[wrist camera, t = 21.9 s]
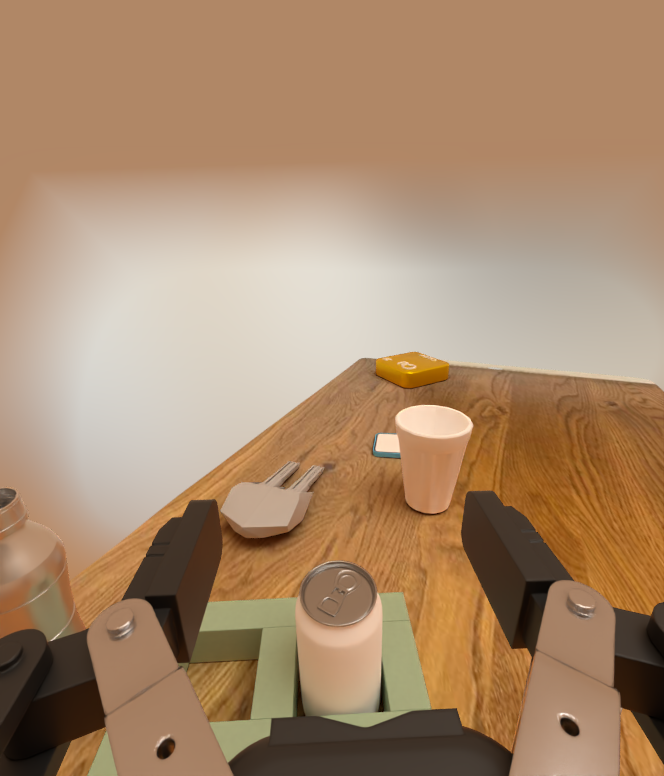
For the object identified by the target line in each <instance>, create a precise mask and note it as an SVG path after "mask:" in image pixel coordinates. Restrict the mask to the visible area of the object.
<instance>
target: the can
mask: <svg viewBox="0 0 664 776" xmlns="http://www.w3.org/2000/svg"><path fill="white" fill-rule="evenodd" d="M295 620H296V634H297V647H298V660H299V672H300V684H301V695H302V704H303V709H304V713H305V716H325V715H341V714H358V713H375V712H378V710H379V705H380V691H381V660H382V603H381V599H380V596H379V594H378V592H377V587H376V584H375V581H374V579H373V578H372V576H371V575H370V574H369V573H368V572H367V571H366V570H365V569H364V568H362V567H361V566H359V565H357V564H355V563H352V562H348V561H329V562H326V563H323V564H320V565H318V566H316V567H315V568H313V569H312V570H311V571H310V572H309V573H308V574H307V575H306V576H305V578H304V579H303V581H302V583H301V586H300V592H299V595H298V598H297V601H296V607H295Z"/></svg>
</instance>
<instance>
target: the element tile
mask: <svg viewBox="0 0 664 776" xmlns="http://www.w3.org/2000/svg"><path fill="white" fill-rule="evenodd" d="M448 373H449V363H447V362H444V361H441V360H438V359H436V358H432V357H430V356H427V355H424V354H421V353H418V352H410V353H405V354H399V355H394V356H389V357H384V358H379V359H377V360H376V374H377V375H378V376H380V377H382V378H384V379H386V380H388V381H390V382H392V383H394V384H396V385H399V386H401V387H403V388H415V387H419V386H423V385H428V384H432V383H436V382H440V381H444V380H447V379H448Z"/></svg>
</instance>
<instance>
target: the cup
mask: <svg viewBox="0 0 664 776" xmlns="http://www.w3.org/2000/svg"><path fill="white" fill-rule="evenodd" d="M395 418H396V432H397V436H398V439H399V447H400V456H401V464H402V473H403V482H404V490H405V499H406V502H407V503H408V505H409V506H410V507H412V508H413V509H415V510H417V511H420V512H423V513H432V514H434V513H439V512H443V511H444V510H446V509H447V508H448V506H449V504H450V501H451V498H452V494H453V491H454V488H455V484H456V481H457V477H458V474H459V470H460V467H461V463H462V460H463V456H464V453H465V449H466V446H467V442H468V441H469V439H470V436H471V432H472V428H473V424H472V422H471V420H470V418H469V417H467V416H466V415H465V414H463V413H462V412H459V411H457V410H454V409H451V408H448V407H442V406H436V405H420V406H413V407H409V408H406V409H404V410H401V411H400V412H399V413H398V414H397V415H396V416H395Z"/></svg>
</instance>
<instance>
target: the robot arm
mask: <svg viewBox="0 0 664 776" xmlns="http://www.w3.org/2000/svg"><path fill="white" fill-rule="evenodd" d="M461 536H462V543H463V547H464V550H465V552H466V554H467V556H468V558H469V560H470V562H471V564H472V567H473V569H474V571H475V573H476V575H477V577H478V579H479V581H480V583H481V585H482V588H483V590H484V592H485V594H486V596H487V598H488V600H489V602H490V604H491V606H492V608H493V611H494V613H495V615H496V617H497V619H498V621H499V623H500V625H501V627H502V629H503V632H504V634H505V636H506V638H507V640H508V642H509V644H510V646H511V648H512V649H518V648H527V649H528V651H529V652H530V654H531V656H532V659H531V663H530V668H529V672H528V677H527V681H526V686H525V690H524V695H523V699H522V703H521V708H520V712H519V717H518V721H517V726H516V730H515V735H514V739H513V743H512V747H511V751H508V750H507V749H506V748H505V747H504V746H502V745H501V744H499V743H498V742H496V741H495V740H493V739H492V738H490V737H488V736H486V735H484V734H482V733H480V732H478V731H475V730H473V729H470V728H467V727H464V726H462V724H461V721H460V718H459V714H458V711H457V708H455V709H436V710H417V711H410V712H407V713H405V714H402V715H399V716H397V717H394V718H391V719H389V720H386V721H383V722H381V723H378V724H376V725H373V726H370V727H360V726H356V725H352V724H348V723H344V722H340V721H336V720H332V719H328V718H324V717H321V716H303V717H284V718H271V728H270V736H267V737H265V738H262V739H260V740H258V741H256V742H255V743H253V744H251V745H249V746H248V747H246V748H245V749H244V750H242V751H241V752H239V753H238V754H237V755H236V756H235V757H234V758H233V759H231V760H230V761H229V762H227V760H226V758H225V756H224V754H223V752H222V749H221V747H220V745H219V743H218V741H217V739H216V736H215V734H214V732H213V730H212V728H211V725H210V723H209V721H208V719H207V717H206V715H205V712H204V710H203V708H202V706H201V704H200V702H199V699H198V697H197V695H196V693H195V691H194V689H193V686H192V684H191V682H190V680H189V678H188V676H187V673H186V671H185V670H184V668H183V667H182V666H180V667H179V665H178V663H190V661H191V658H192V654H193V651H194V648H195V644H196V641H197V637H198V634H199V631H200V627H201V624H202V620H203V617H204V614H205V610H206V607H207V604H208V600H209V597H210V593H211V590H212V587H213V583H214V580H215V577H216V573H217V570H218V566H219V563H220V560H221V555H222V533H221V526H220V519H219V512H218V505H217V502H216V500H191V501H190V502H189V504H188V506H187V508H186V510H185V512H184V514H183V516H182V517H177V518H172V519H170V520H169V521H168V522H167V523H166V524H165V525H164V526H163V527H162V528H161V529H160V530H159V531H158V533H157V535H156V537H155V539H154V541H153V542H152V546H150V548H149V550H148V552H147V554H146V557H144V559H143V561H142V563H141V565H140V567H139V569H138V570H137V572H136V574H135V576H134V578H133V580H132V582H131V584H130V585H129V587H128V589H127V591H126V593H125V595H124V597H123V598H122V600H121V601H120V602H118V603H115V604H113V605H112V606H110V607H108V608H107V609H106V610H104V611H103V612H102V613H101V614H100V615H99V616H98V617H97V618H96V619H95V620H94V621H93V623H92V624H91V626H90V628H88V629H86V630H83V631H81V632H78V633H74V634H71V635H68V636H65V637H62V638H59V639H55V640H52V641H49V642H48V641H47V639H46V636H45V635H44V633H43V632H41V631H39V630H36V629H25V630H20V631H16V632H14V633H11V634H9V635H7V636H4V637H2V638H1V639H0V776H56V775H57V772H58V770H59V768H60V765H61V763H62V761H63V758H64V756H65V754H66V752H67V749H68V747H69V745H70V742H71V741H72V740H74V739H77V738H79V737H82V736H84V735H87V734H89V733H92V732H94V731H97V730H99V729H102V728H104V727H106V730H107V734H108V738H109V742H110V746H111V750H112V755H113V759H114V763H115V767H116V771H117V775H118V776H620V707H621V708H624V709H627V710H631V712H632V713H633V715H634V717H635V718H636V720H637V722H638V723H639V725H640V726H641V728H642V730H643V731H644V733H645V735H646V736H647V738H648V740H649V741H650V743H651V744H652V746H653V748H654V749H655V751H656V753H657V754H658V756H659V758H660V759H661V761H662V762H663V764H664V602H662V603H659V604H657V605H656V606H655V607H654V609H653V612H652V614H651V616H649V615H644V614H640V613H635V612H631V611H626V610H622V609H618V608H614V607H612V606H611V605H610V603H609V602H608V601H607V600H606V599H605V598H604V597H603V596H602V595H601V594H600V593H598V592H597V591H596V590H594V589H592V588H591V587H589V586H587V585H584V584H582V583H579V582H575V581H574V580H573V579H572V577H571V576H570V575H569V573H568V572H567V571H566V569H565V568H564V567H563V565H562V564H561V563H560V561H559V560H558V559H557V557H556V556H555V555H554V553H553V552H552V551H551V549H550V548H549V547H548V545H547V544H546V543H544V542H543V539H542V538H541V536H540V535H539V534H538V532H536V531H535V528H534V527H533V526H532V524H531V523H530V522H529V520H528V519H527V518H526V517H525V516H524V515H523V514H521V513H520V512H519V511H517V510H516V509H514V508H513V507H512V506H504V505H503V504H502V502H501V501H500V499H499V498H498V497H497V495H496V494H495V493H494V492H493V491H469V492H467V494H466V499H465V506H464V514H463V522H462V530H461Z"/></svg>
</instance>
